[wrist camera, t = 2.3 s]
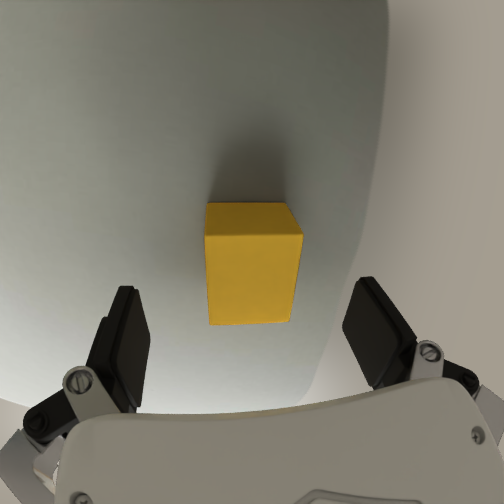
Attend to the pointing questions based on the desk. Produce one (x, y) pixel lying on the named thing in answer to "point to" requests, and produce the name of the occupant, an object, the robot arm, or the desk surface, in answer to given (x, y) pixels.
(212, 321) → the yellow block
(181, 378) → the desk surface
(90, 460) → the robot arm
